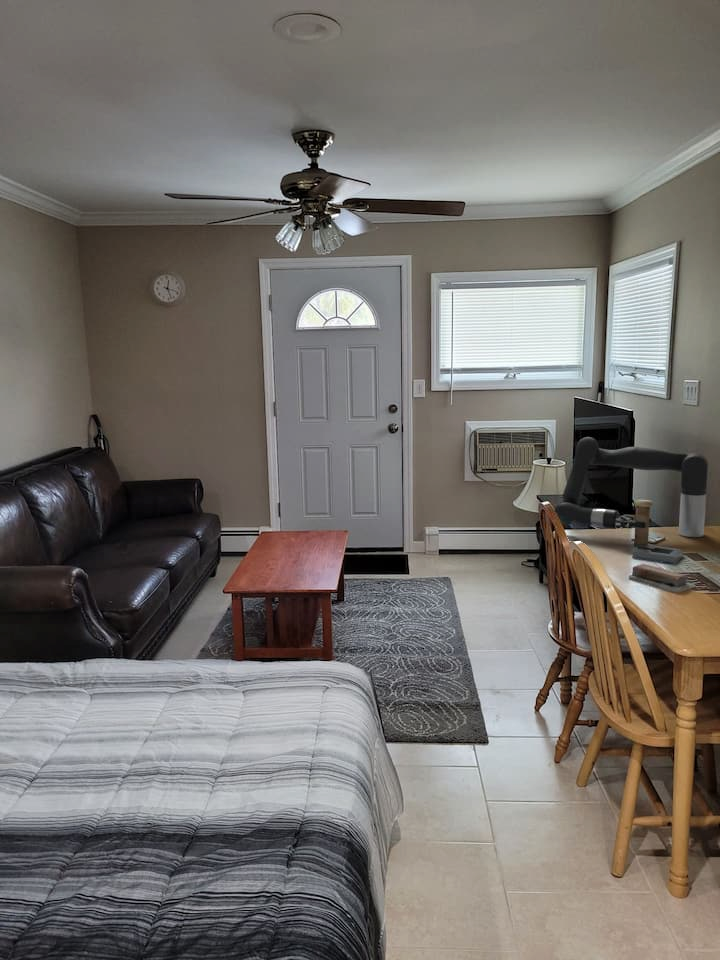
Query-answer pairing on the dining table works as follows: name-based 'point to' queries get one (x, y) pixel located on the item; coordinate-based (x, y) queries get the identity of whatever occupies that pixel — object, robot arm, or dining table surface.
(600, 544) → the dining table surface
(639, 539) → the walnut peg
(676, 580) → the packaged product
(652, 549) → the keyhole plate
